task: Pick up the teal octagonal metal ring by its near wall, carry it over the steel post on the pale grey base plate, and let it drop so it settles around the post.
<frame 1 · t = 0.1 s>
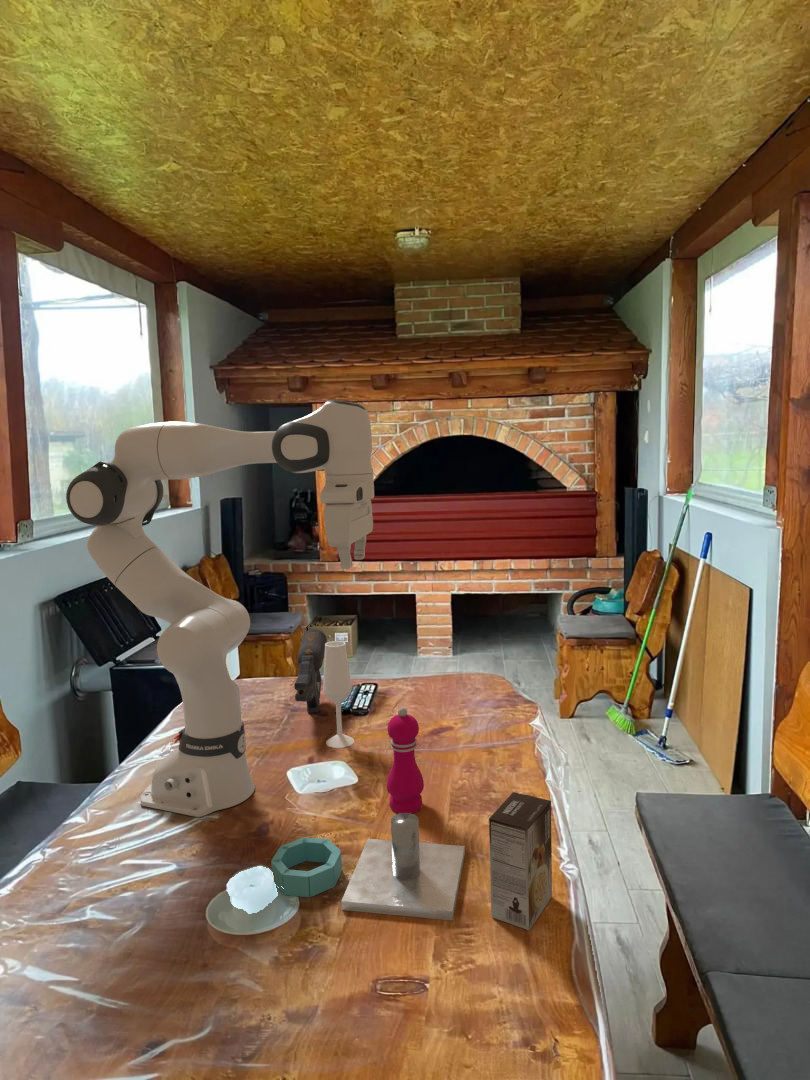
hand: (353, 563, 133), 48 cm above the table, tool pointing down, fingers open, 8 cm apart
pepper mill: (406, 806, 138), on the table
post stand: (406, 880, 115), on the table
gun: (311, 715, 185), on the table
champagne flute: (340, 742, 168), on the table
ring: (307, 875, 117), on the table
coffee box: (522, 908, 107), on the table
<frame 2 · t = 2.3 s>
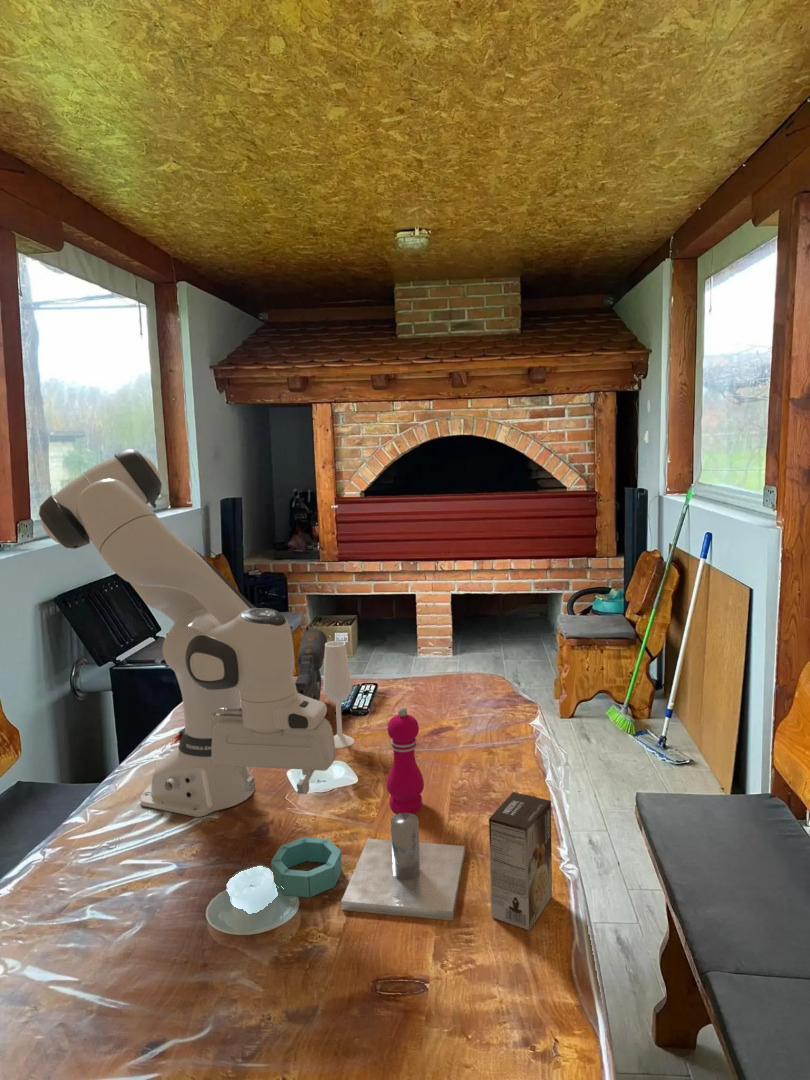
hand: (275, 790, 116), 15 cm above the table, tool pointing down, fingers open, 8 cm apart
nothing on the table moved.
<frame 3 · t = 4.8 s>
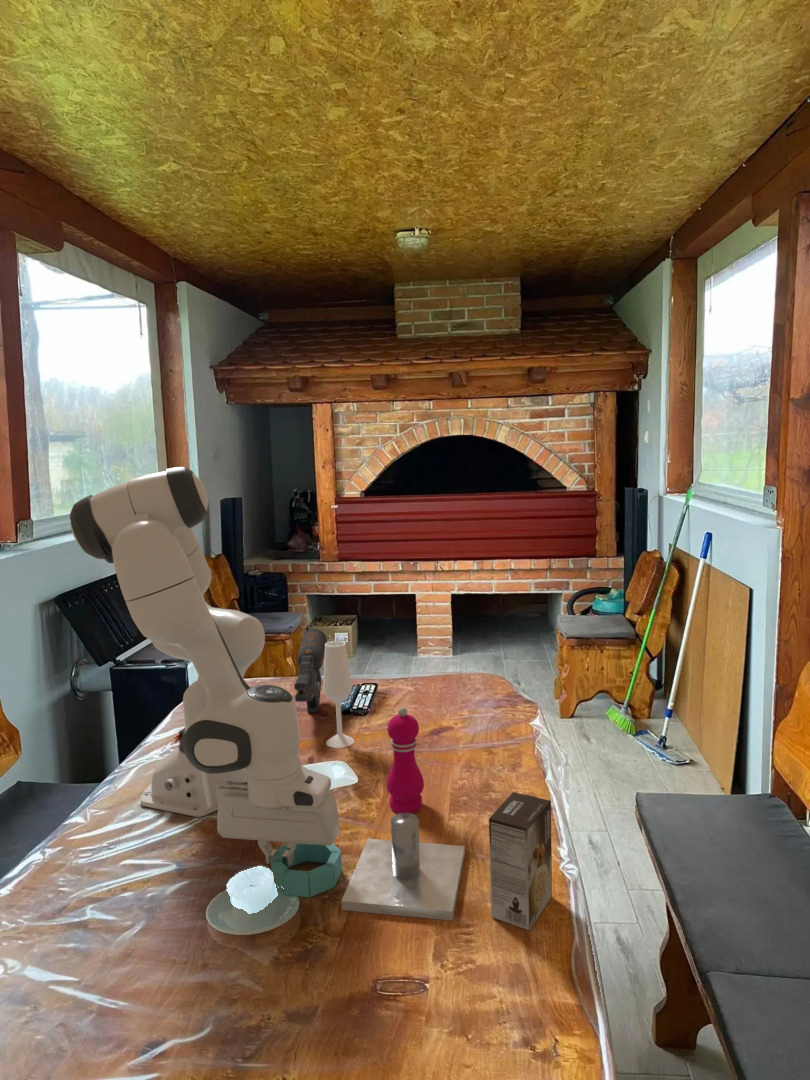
hand: (280, 862, 117), 2 cm above the table, tool pointing down, fingers closed on ring
ring: (307, 875, 117), on the table, touching gripper
everything else where it was.
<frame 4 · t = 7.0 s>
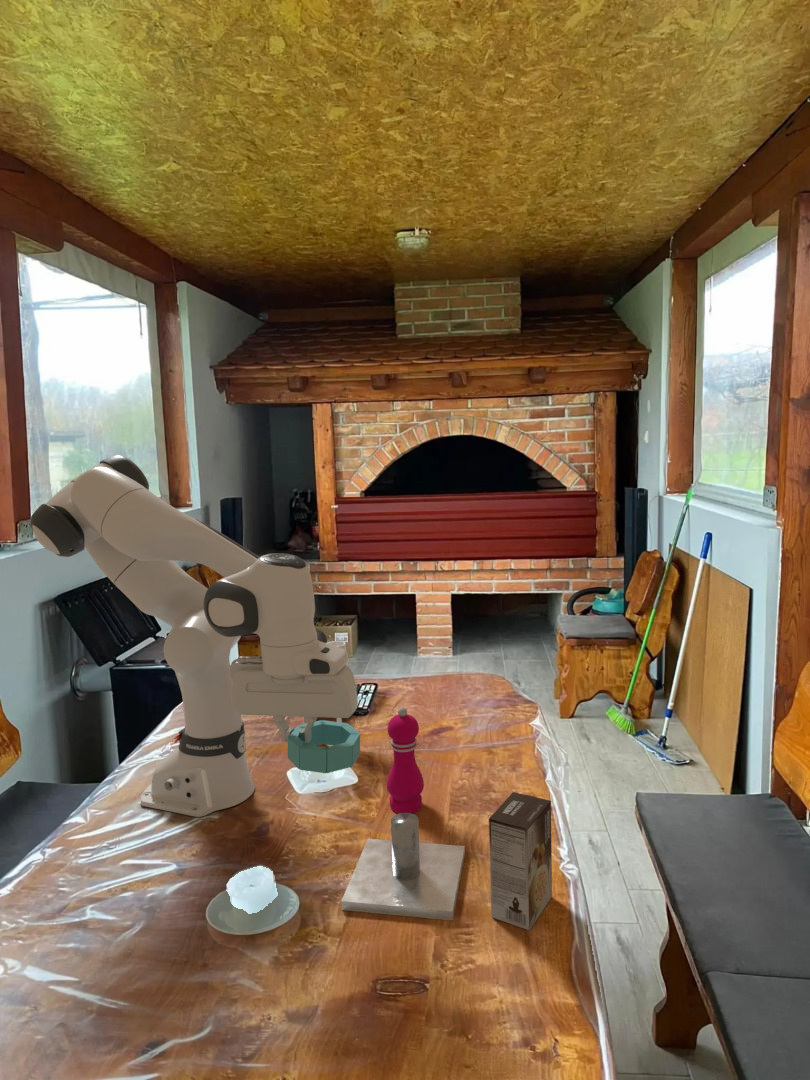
hand: (297, 740, 113), 24 cm above the table, tool pointing down, fingers closed on ring
ring: (324, 755, 113), point 21 cm above the table, touching gripper
everything else where it was.
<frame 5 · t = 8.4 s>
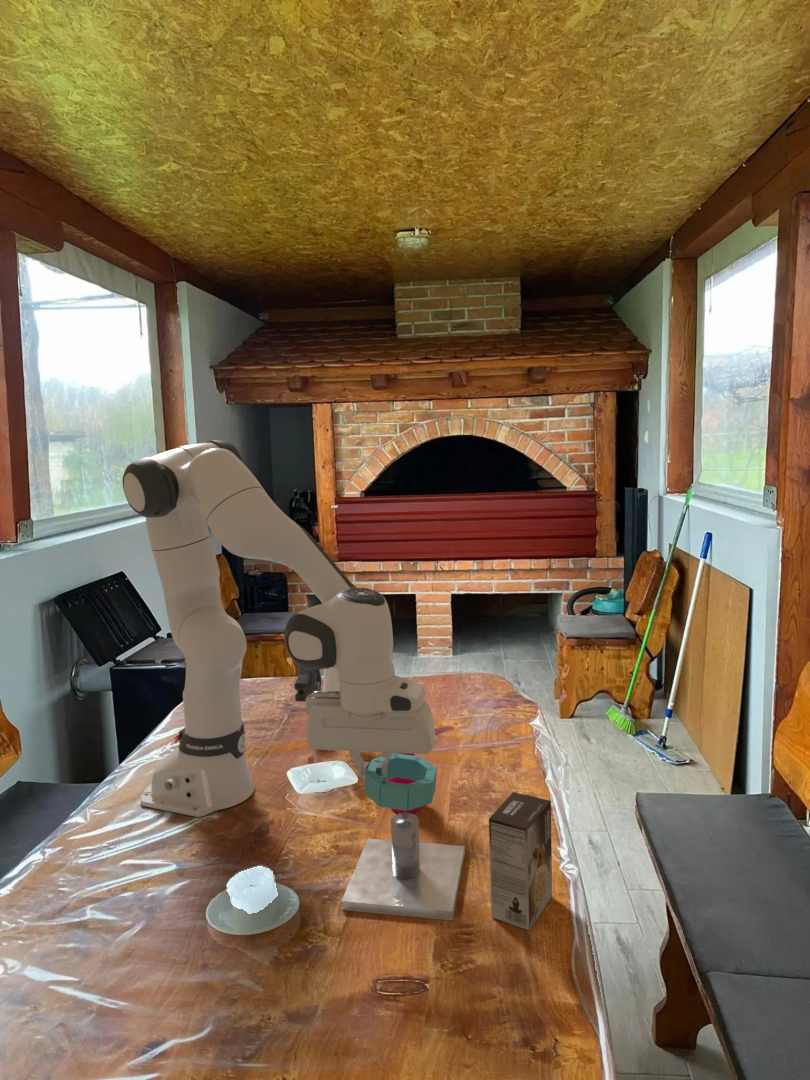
hand: (373, 775, 113), 18 cm above the table, tool pointing down, fingers closed on ring
ring: (400, 790, 112), point 16 cm above the table, tilted 5°, touching gripper
everything else where it was.
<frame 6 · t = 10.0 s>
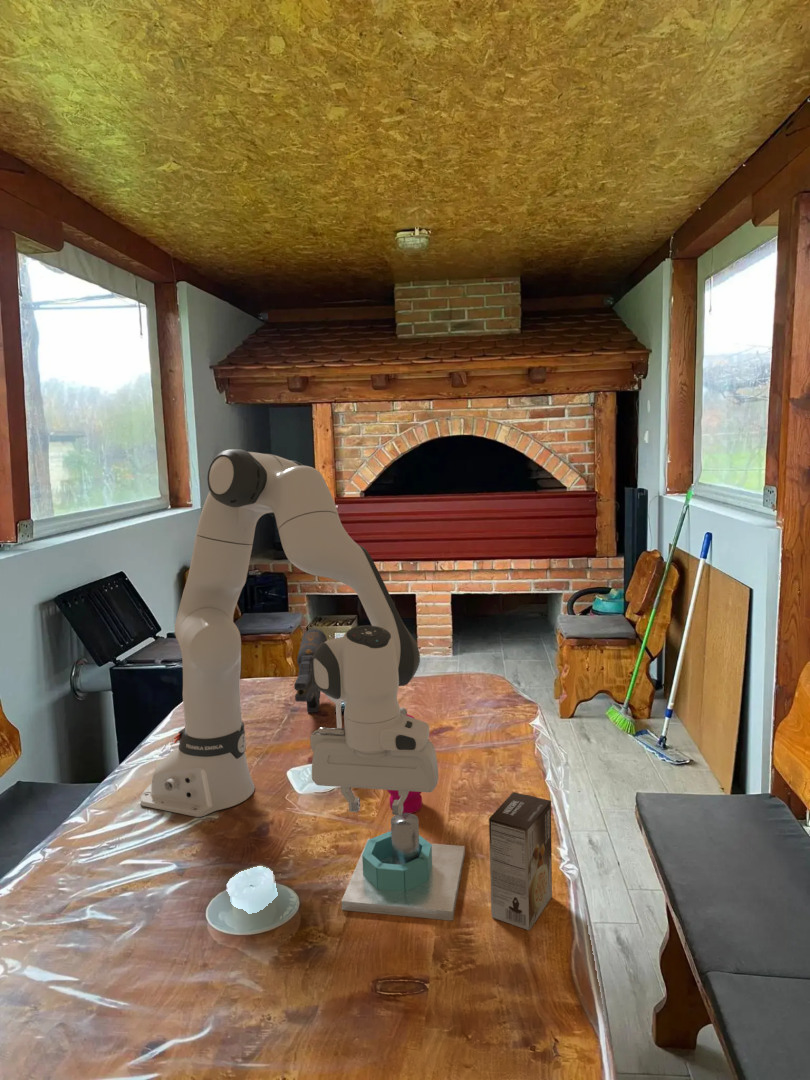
hand: (376, 811, 114), 12 cm above the table, tool pointing down, fingers open, 6 cm apart
ring: (397, 869, 115), point 1 cm above the table, touching post stand
everything else where it was.
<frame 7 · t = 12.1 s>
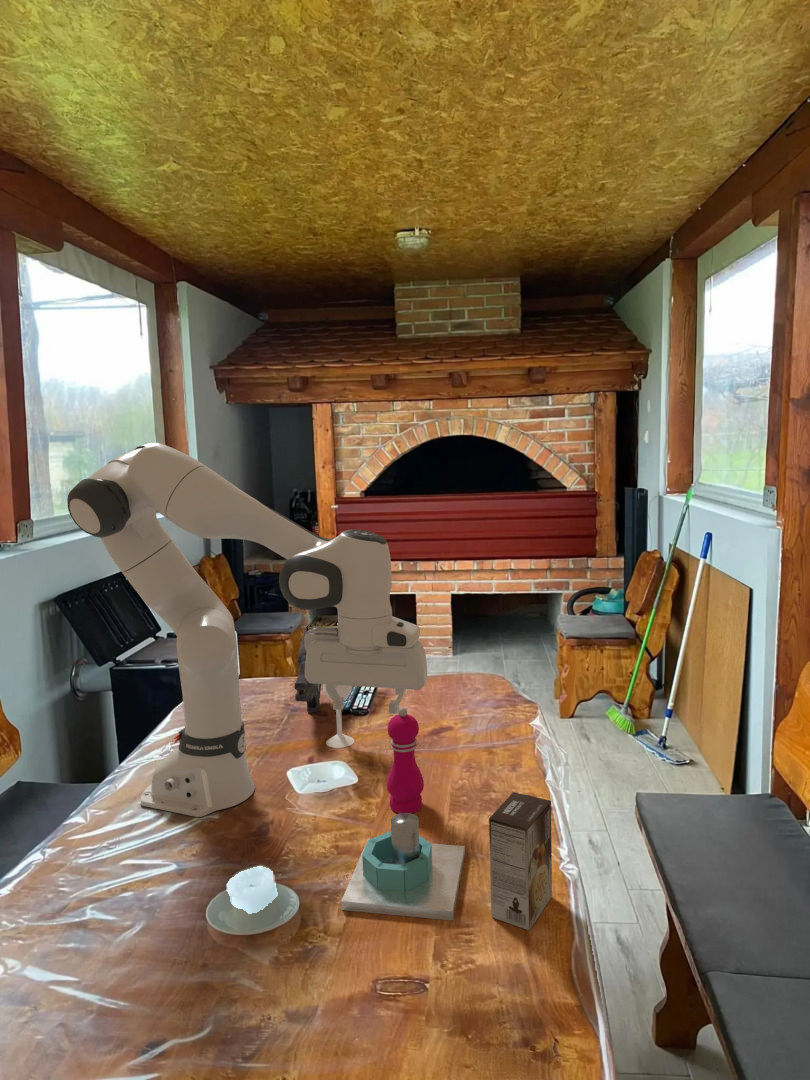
hand: (366, 710, 118), 26 cm above the table, tool pointing down, fingers open, 8 cm apart
nothing on the table moved.
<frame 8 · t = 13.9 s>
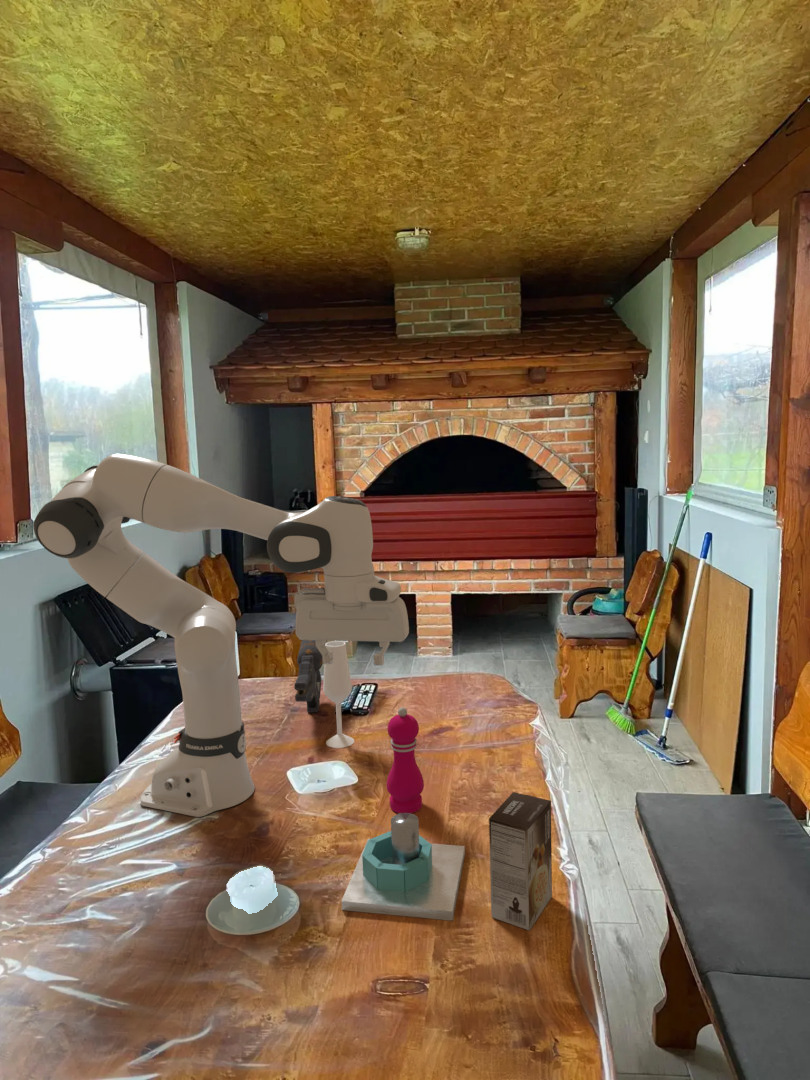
hand: (353, 663, 127), 31 cm above the table, tool pointing down, fingers open, 8 cm apart
nothing on the table moved.
at the end: ring 1.6 cm from the post stand (horizontally); ring point 1.5 cm above the table; ring tilted 0° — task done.
